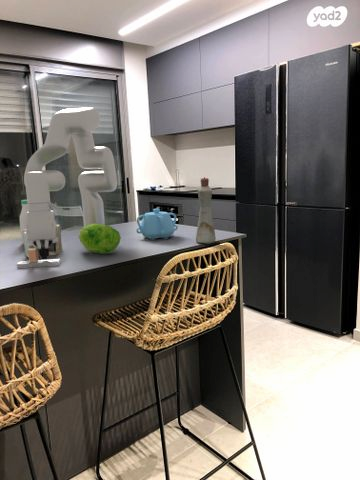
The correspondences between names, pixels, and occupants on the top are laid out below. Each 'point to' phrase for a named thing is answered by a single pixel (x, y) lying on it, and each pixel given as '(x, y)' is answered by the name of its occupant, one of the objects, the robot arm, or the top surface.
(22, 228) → the milk bottle
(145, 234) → the decorative pot
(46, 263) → the fader strip
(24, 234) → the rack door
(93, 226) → the lettuce
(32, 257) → the fader knob
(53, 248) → the cabinet
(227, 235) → the top surface
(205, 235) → the bottle
